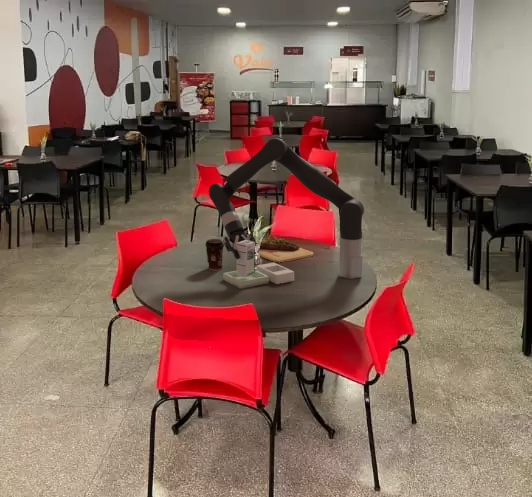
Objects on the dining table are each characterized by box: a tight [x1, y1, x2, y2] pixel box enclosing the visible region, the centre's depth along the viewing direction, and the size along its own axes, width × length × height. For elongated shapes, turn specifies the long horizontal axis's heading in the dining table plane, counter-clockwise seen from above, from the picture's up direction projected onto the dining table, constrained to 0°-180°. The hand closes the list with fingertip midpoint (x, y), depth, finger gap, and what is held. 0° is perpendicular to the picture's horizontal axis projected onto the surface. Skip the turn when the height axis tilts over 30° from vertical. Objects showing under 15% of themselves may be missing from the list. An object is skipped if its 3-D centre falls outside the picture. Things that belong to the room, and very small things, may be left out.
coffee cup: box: [205, 238, 225, 272], centre depth 290 cm, size 9×8×13 cm
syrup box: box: [236, 240, 256, 278], centre depth 272 cm, size 6×6×14 cm
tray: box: [222, 269, 270, 290], centre depth 274 cm, size 14×14×3 cm
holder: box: [256, 262, 295, 285], centre depth 279 cm, size 16×9×4 cm, turn 33°
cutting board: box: [259, 233, 314, 264], centre depth 320 cm, size 35×23×8 cm
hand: (246, 257), depth 271 cm, fingers closed on syrup box, 7 cm apart
